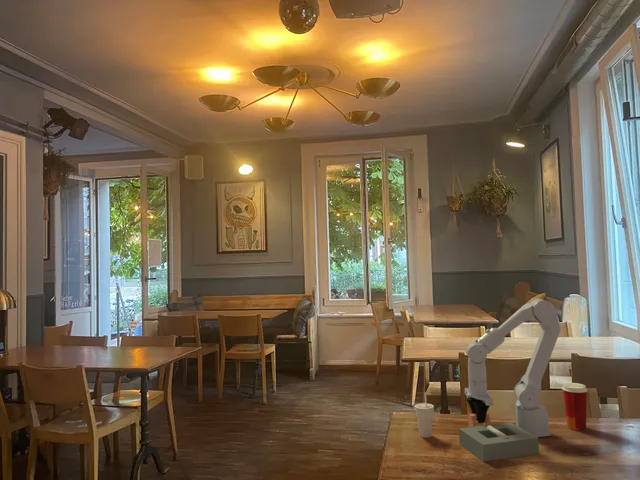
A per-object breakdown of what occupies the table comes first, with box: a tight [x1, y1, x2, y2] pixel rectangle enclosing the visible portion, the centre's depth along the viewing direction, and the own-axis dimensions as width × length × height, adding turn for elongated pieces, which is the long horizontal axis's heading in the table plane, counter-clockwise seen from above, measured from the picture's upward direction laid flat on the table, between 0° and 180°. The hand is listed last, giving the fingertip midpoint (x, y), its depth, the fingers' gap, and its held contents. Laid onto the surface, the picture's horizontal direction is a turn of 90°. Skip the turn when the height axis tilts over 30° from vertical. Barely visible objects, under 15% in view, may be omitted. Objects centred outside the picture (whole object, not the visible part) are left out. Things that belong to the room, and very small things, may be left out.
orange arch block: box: [467, 412, 492, 427], centre depth 167 cm, size 6×3×6 cm, turn 102°
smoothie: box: [414, 392, 435, 439], centre depth 166 cm, size 6×6×14 cm
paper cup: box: [561, 382, 588, 432], centre depth 168 cm, size 8×8×14 cm
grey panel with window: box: [458, 421, 540, 463], centre depth 153 cm, size 18×14×6 cm
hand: (479, 421), depth 167 cm, fingers closed on orange arch block, 2 cm apart
